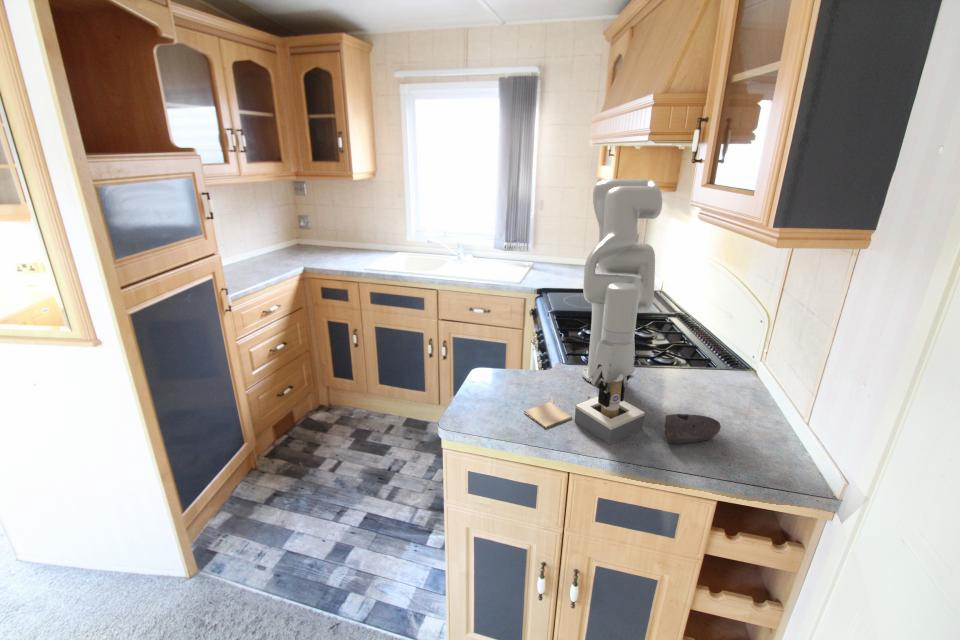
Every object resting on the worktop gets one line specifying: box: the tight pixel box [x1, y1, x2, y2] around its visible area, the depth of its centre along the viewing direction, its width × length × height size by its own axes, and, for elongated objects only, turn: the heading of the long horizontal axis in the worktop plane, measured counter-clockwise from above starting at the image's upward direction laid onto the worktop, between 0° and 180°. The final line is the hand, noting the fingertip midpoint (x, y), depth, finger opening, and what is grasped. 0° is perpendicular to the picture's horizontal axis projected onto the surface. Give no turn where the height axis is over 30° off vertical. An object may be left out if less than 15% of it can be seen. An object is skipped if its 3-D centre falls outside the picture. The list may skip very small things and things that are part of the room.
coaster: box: [523, 401, 573, 429], centre depth 123 cm, size 9×9×1 cm
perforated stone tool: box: [664, 413, 722, 444], centre depth 111 cm, size 15×5×7 cm, turn 95°
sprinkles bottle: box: [601, 374, 623, 419], centre depth 115 cm, size 5×5×14 cm
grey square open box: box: [574, 396, 646, 446], centre depth 117 cm, size 12×12×5 cm
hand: (610, 401), depth 116 cm, fingers closed on sprinkles bottle, 4 cm apart
